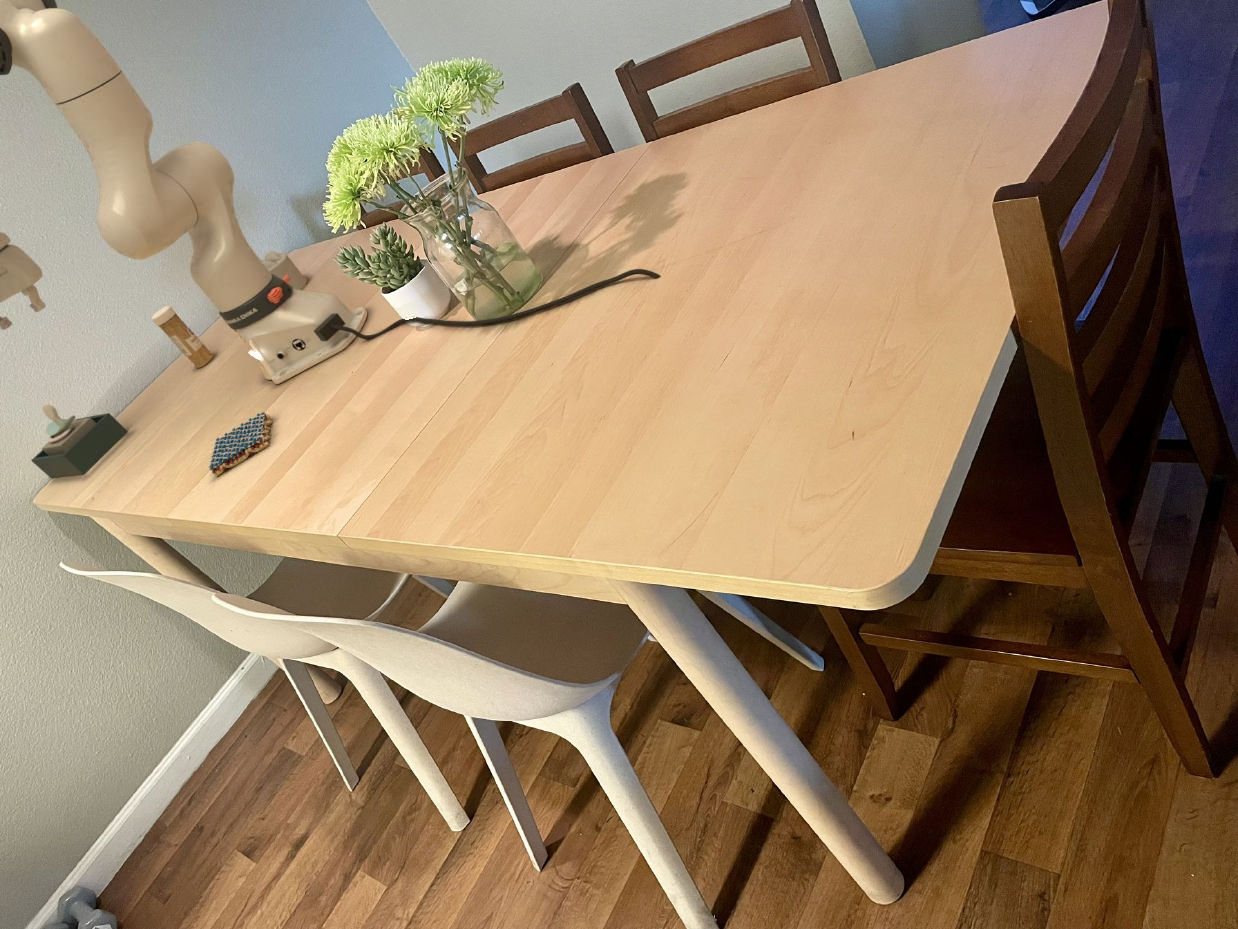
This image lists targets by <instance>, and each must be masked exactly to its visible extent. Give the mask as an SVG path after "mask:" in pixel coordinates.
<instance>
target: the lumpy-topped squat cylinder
mask: <svg viewBox="0 0 1238 929" xmlns="http://www.w3.org/2000/svg"><path fill="white" fill-rule="evenodd" d="M260 260H261V259H260ZM261 262H262V263H263V264H264V266H265V267H266V268H267V269H268V271H269V272H270V273H271V274H273V275H275V276H277V277H279V278H280V279H283V278H284V276H285V275H286V274H288V277H287V280H288V279H289V278H290V277H291V279H290V280H289V282H288V284H289V285H291V286H292V287H293V289H298V290H303V289H304V287H305V286H306V285H307V284H308V282H307V280H308V279H307V278H305V276H304V274H302V272H301V271H300V270H299V268H298V267H297V266H296V264H295V263H294V262H293V261H292V259H291V258H290V257H289V256H288V254H287V253H285V252H276V251H274V250H269V251H268V252H266V253H265V254H264V258H263V259H262V260H261Z"/></svg>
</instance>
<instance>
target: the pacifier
mask: <svg viewBox="0 0 1238 929" xmlns="http://www.w3.org/2000/svg"><path fill="white" fill-rule="evenodd" d="M42 411H43V413H44V415H45V417H47V418H48V419H49V420H51V422H50V423H49V424H48V425H47V426H46V429H45V431H46V434H47V435H49V437H48V438H47V443H48V442H50V443H52V442H56V441H58V440H60V439H62V438H63V437H65V436H66V435H67V434H68V433H69V432H70V431H71V429H72V428H73V426H72V425H71V423H72V422H73V421H74V420H75V419H76V416H75V415H71V416H70V417H69V418H68V419H67V418H61V417H60V416H59V414H58V410H57V408H55V407H54V405H51V404H44V405H42ZM58 434H60V435H59V436H58V437H56V438H54V437H55V436H56V435H58Z"/></svg>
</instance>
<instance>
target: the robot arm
mask: <svg viewBox="0 0 1238 929" xmlns="http://www.w3.org/2000/svg"><path fill="white" fill-rule="evenodd" d="M13 66H14V67H18V68H21V69H22V70H25V71H27V72H28V73H29V74H31V75H32V76H33V77H34V78H35V79H36V80H37V81H38V83H39V84H40V86H42V88H43V90H44V91H45V92H46V94H47V95H48V96H49V98H50V100H51V101H52V102H53V103H54V105H55V106H56V107H57V109H58V111H60V113H61V114H62V117H64V119H65V120H66V121H67V123H68V124H69V126H70V127H71V129H72V130H73V131H74V133H75V134H76V136H77V137H78V139H79V140H80V142H81V143H82V145H83V146H84V148H85V150H86V152H87V154H88V155H89V157H90V160H91V162H92V164H93V168H94V171H95V176H96V180H97V184H98V193H99V194H98V195H99V200H98V209H97V213H96V223H97V229H98V231H99V233H100V235H101V237H102V239H103V241H105V242H106V244H107V245H108V246H109V247H110V248H111V249H112V250H114V251H115V252H117V253H118V254H119V255H122V256H124V257H126V258H129V259H133V260H139V261H140V260H141V261H143V260H146V259H148V258H151V257H153V256H154V255H157V254H159V253H160V252H163V251H164V250H166V249H168V248H170V247H171V246H173V244H174V243H175V242H177V241H178V240H179V239H180V238H182V236H184V235H185V234H187V233H188V235H189V236H190V240H191V244H192V255H191V260H190V263H189V273H190V276H191V278H192V280H193V282H194V283H195V284H196V285H197V287H198V288H199V289H200V290H201V291H202V292H203V293H204V294H205V296H206V297H207V298H208V299H209V300H210V302H211V303H212V304H213V305H214V306H215V307H216V309H217V310H218V311H219V312H218V315H219V316H220V317H221V318H222V319H223V321H224V322H225V323H226V324H227V326H228V327H229V328H230V329H231V330H233V331H234V332H236V333H237V334H238V336H239V337H240V338H241V339H242V341H243V342H244V344H245V345H246V347H247V348H248V350H249V351H248V354H250V356H252V357H253V358H254V359H255V361H256V363H257V365H258V366H259V369H260V370H261V372H262V375H263V378H264V379H265V380H268V381H272V382H273V383H274V384H275V385H280V384H281V383H283V382H285V381H287V380H289V379H291V378H292V377H295V376H297V375H298V374H300V373H302V372H304V371H306V370H308V369H309V368H311V367H313V366H315V365H317V364H319V363H321V362H323V361H325V360H327V359H329V358H331V357H333V356H334V355H336V354H338V353H340V352H341V351H344V349H346V348H347V347H348V346H349V345H350V344H351V343H352V342H354V339H355V338H357V337H358V338H360V339H362V340H374V339H376V338H378V337H380V336H383V335H384V334H386V333H388V332H390V331H391V330H393V329H395V328H396V327H398V326H400V325H402V324H404V323H409V322H419V323H424V324H434V325H442V326H455V327H475V326H476V327H477V326H485V325H487V326H488V325H493V324H498V323H503V322H504V323H505V322H507V321H508V322H509V321H513V320H516V319H519V318H523V317H526V316H529V315H534V314H536V313H539V312H542V311H545V310H547V309H550V308H554V307H555V306H559V305H560V304H563V303H567V302H569V301H571V300H574V299H576V298H578V297H580V296H582V295H584V294H587V293H589V292H592V291H594V290H597V289H599V288H602V287H606V286H608V285H611V284H614V283H617V282H620V281H621V280H624V279H626V278H628V277H632V276H634V275H643V276H647V277H650V278H653V279H655V280H657V279H660V278H661V277H662V276H661V275H660V274H659V273H657V272H654V271H651V270H649V269H644V268H634V269H629V270H627V271H625V272H622V273H620V274H618V275H615V276H613V277H610V278H607V279H604V280H601V281H598V282H596V283H593V284H591V285H588V286H585V287H584V288H582V289H579V290H577V291H575V292H573V293H572V292H571V293H570V294H568V295H566V296H563V297H560V298H557V299H555V300H552V301H549V302H547V303H544V304H541V305H539V306H536V307H532V308H529V309H527V310H522V311H519V312H516V313H512V314H508V315H504V316H500V317H495V318H488V319H481V320H445V319H444V320H443V319H435V318H426V317H425V318H424V317H419V316H415V317H416V318H413V319H409V320H405V319H403V318H400V319H398V320H395V321H394V322H393V323H392V324H390V325H389V326H387V327H386V328H384V329H383V330H381V331H379V332H376V333H374V334H363V333H361V331H362V328H363V327H364V324H365V323H366V321H367V318H368V311H367V310H366V308H364V307H363V306H360V307H356V308H354V309H350V308H349V307H348V305H346V304H345V302H344V301H342V299H340V298H339V297H338V296H336V295H335V294H333V293H326V292H318V291H310V290H304V289H301V290H298V289H293V287H292V286H291V285H289V284H288V282H289V280H290V279H291V277H290V278H289V279H288V280H287V277H288V274H286V275H285V276H284V278H283V279H280V278H279V277H277V276H275V275H273V274H271V273H270V272H269V271H268V269H267V268H266V267H265V266H264V264H263V263H262V262H261V259H260V258H259V256H258V255H257V254H256V252H255V250H253V248H252V246H251V245H250V244H249V242H248V240H247V239H246V237H245V236H244V233H243V232H242V229H241V226H240V223H239V221H238V218H237V214H236V211H235V210H236V209H235V206H234V205H235V204H234V185H235V174H234V170H233V168H232V165H231V164H230V161H228V159H227V157H225V155H224V154H223V153H222V152H221V151H220V150H219V149H217V148H216V147H214V146H213V145H210V144H209V143H206V142H203V141H197V140H196V141H191V142H189V143H186V144H183V145H180V146H178V147H176V148H174V149H170V151H168V152H167V153H165V154H163V155H162V156H161V157H160V158H159V159H157V160H156V161H154V162H153V160H152V157H151V151H150V140H151V136H152V134H153V130H154V119H153V116H152V113H151V111H150V109H149V108H148V107H147V104H146V103H145V102H144V101H143V100H142V98H141V96H140V95H139V93H138V92H137V89H135V87H134V86H133V85H132V83H131V82H130V80H129V79H128V77H127V76H126V74H125V73H124V72H123V70H122V68H121V67H120V66H119V64H118V62H116V60H115V59H114V57H113V56H112V55H111V54H110V52H109V51H108V49H107V48H106V47H105V45H104V44H103V43H102V42H101V41H100V40H99V38H98V37H97V36H96V35H95V34H94V33H93V32H92V31H91V29H90V28H89V27H88V26H87V25H86V24H85V23H84V22H83V21H82V19H80V18H79V17H78V16H77V15H76V14H75V13H73V12H71V11H69V10H67V9H64V8H58V4H57V2H56V0H0V76H7V75H9V74H10V73H11V70H12V67H13ZM42 278H43V270H42V268H41V267H40V266H39V265H38V264H37V263H36V261H34V260H33V259H32V258H31V256H30V255H29V254H27V253H26V252H25V251H24V250H23V249H22V248H21V247H19V246H17V245H15V244H11V238H10V237H9V236H8V235H7V234H6V233H5V232H0V304H1V303H3V302H4V301H7V300H8V299H9V298H12V297H14V296H15V295H17V294H19V293H21V294H23V295H24V296H26V297H27V296H28V299H29V301H30V304H29V305H28V306H29V307H30V308H31V309H33V311H34V312H35V313H39V312H41V311H42V310H44V309H45V308H46V307H47V304H46V303H45V302H44V301H43V300H42V299H41V297H40V294H39V290H38V288H37V287H36V286H35V284H36V283H37V282H39V281H40V280H41V279H42ZM12 325H13V322H12V321H11V320H10V319H9V318H8V317H7V316H4V317H2V316H1V315H0V330H1V331H5V330H7V329H8V328H10V327H12Z"/></svg>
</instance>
